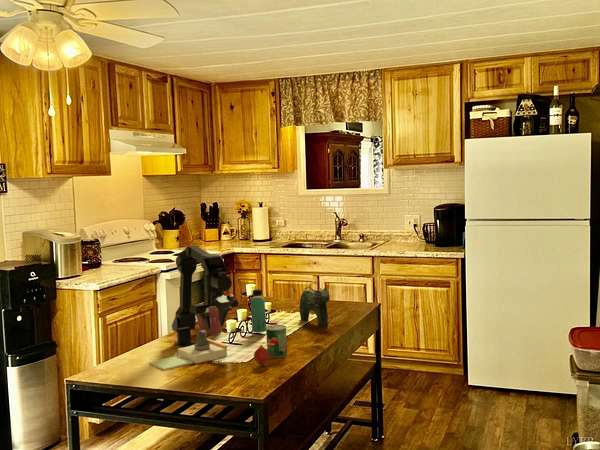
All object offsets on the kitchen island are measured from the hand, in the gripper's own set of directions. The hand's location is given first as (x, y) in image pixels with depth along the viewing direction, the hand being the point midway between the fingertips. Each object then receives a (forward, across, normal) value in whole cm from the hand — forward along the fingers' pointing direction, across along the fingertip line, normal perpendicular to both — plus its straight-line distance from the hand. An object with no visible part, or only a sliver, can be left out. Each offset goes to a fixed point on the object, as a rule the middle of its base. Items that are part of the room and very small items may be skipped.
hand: (215, 327), depth 251 cm
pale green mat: (+13, -14, +10) cm, 22 cm away
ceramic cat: (+13, +66, +20) cm, 70 cm away
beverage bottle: (+13, +36, +22) cm, 44 cm away
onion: (+13, +9, -18) cm, 24 cm away
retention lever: (+8, +3, +7) cm, 11 cm away
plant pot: (+13, +22, +40) cm, 48 cm away
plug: (+13, 0, +10) cm, 17 cm away
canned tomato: (+13, +22, -10) cm, 27 cm away
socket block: (+13, 0, +10) cm, 17 cm away
